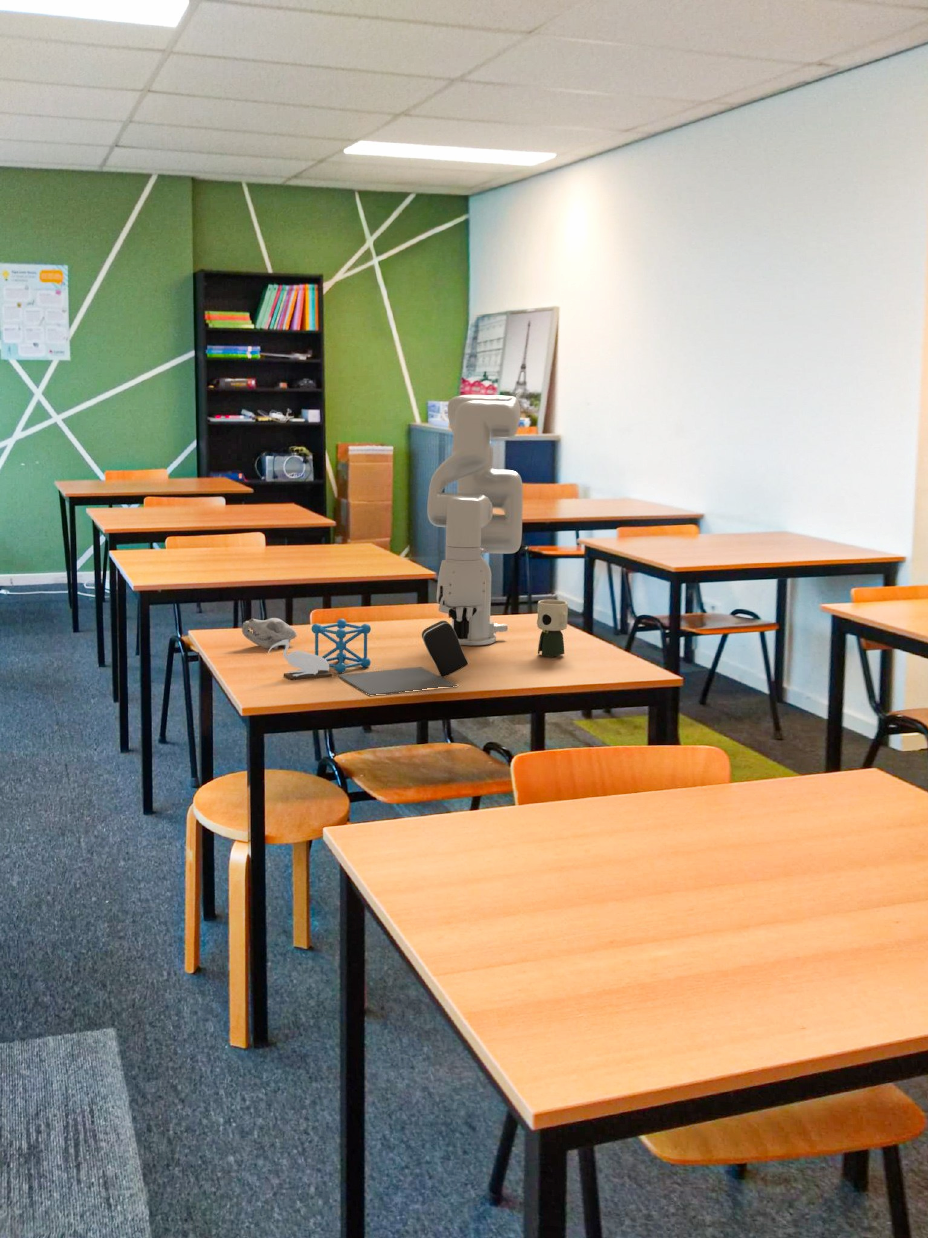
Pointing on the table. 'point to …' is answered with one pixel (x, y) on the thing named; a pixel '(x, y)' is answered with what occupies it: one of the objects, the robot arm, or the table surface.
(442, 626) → the battery charger
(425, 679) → the mat
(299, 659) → the figurine
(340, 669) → the molecular structure
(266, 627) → the skull
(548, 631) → the character mug
